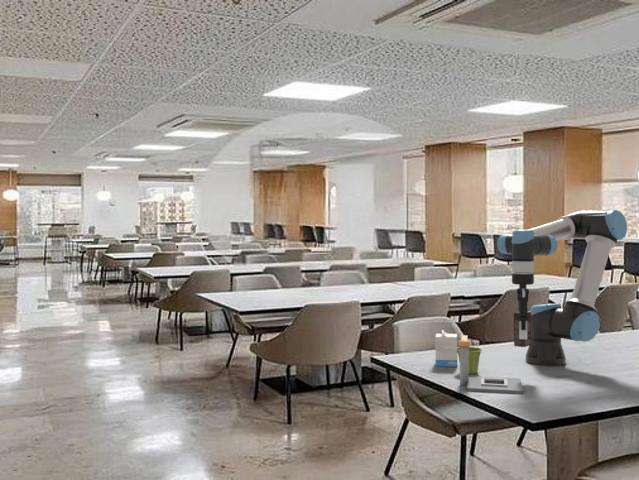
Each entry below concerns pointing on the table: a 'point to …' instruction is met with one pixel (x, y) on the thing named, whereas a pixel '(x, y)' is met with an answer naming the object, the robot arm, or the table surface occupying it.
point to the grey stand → (485, 379)
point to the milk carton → (446, 349)
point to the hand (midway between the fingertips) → (522, 337)
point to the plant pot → (472, 358)
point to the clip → (464, 341)
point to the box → (518, 341)
